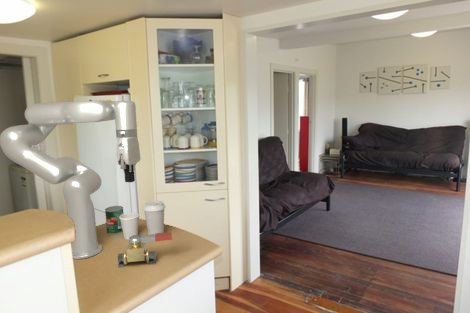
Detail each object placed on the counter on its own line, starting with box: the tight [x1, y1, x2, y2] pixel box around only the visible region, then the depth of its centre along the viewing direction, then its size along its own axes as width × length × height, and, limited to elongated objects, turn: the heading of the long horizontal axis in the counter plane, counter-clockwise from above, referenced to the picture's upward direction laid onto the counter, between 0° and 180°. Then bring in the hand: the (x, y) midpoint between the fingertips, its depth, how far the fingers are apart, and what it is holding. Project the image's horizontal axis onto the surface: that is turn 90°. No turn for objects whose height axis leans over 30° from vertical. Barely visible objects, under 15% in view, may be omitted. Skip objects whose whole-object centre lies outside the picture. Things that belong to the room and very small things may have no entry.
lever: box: [128, 231, 173, 245], centre depth 124 cm, size 4×15×2 cm, turn 103°
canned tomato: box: [104, 205, 124, 235], centre depth 156 cm, size 8×8×11 cm
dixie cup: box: [119, 212, 140, 240], centre depth 148 cm, size 8×8×10 cm
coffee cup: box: [142, 200, 166, 235], centre depth 149 cm, size 10×10×15 cm
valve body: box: [117, 242, 157, 268], centre depth 124 cm, size 13×6×8 cm, turn 99°
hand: (129, 181), depth 129 cm, fingers closed
